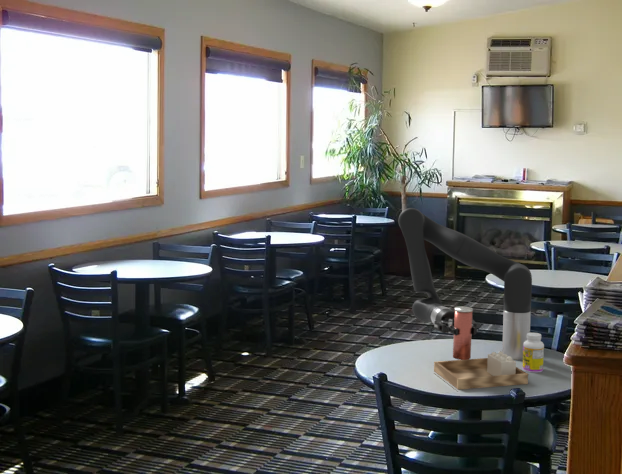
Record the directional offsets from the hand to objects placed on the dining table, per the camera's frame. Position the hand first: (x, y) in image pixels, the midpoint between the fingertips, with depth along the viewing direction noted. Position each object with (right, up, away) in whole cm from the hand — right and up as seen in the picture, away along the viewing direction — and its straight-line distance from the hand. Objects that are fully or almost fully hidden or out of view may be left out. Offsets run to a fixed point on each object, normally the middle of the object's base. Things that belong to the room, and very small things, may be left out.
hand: (466, 331), depth 255 cm
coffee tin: (-1, -9, +4) cm, 9 cm away
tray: (+6, -16, +6) cm, 18 cm away
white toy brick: (+13, -15, +8) cm, 21 cm away
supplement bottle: (+25, -15, +15) cm, 33 cm away
